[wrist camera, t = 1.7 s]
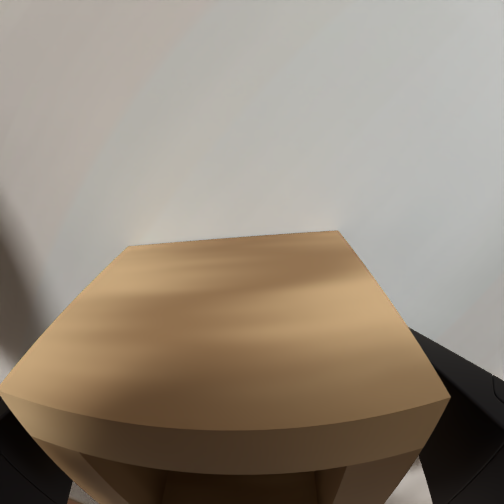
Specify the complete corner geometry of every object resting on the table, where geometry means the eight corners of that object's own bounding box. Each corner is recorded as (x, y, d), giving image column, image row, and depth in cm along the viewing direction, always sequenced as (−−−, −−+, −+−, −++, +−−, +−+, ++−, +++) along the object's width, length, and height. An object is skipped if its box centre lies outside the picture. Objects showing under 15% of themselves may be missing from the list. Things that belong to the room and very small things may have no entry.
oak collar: (338, 230, 8) (450, 397, 3) (329, 386, 10) (358, 533, 5) (127, 246, 8) (-4, 390, 3) (171, 392, 11) (133, 529, 5)
